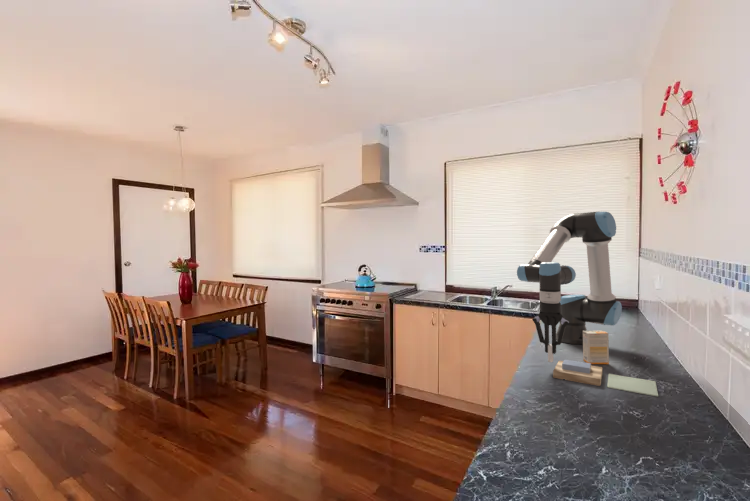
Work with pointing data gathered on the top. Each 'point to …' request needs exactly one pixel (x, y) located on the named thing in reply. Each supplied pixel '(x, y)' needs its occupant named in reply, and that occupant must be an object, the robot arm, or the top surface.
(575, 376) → the board
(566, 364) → the blue rectangular block
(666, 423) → the top surface
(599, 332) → the supplement box
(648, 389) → the mat
